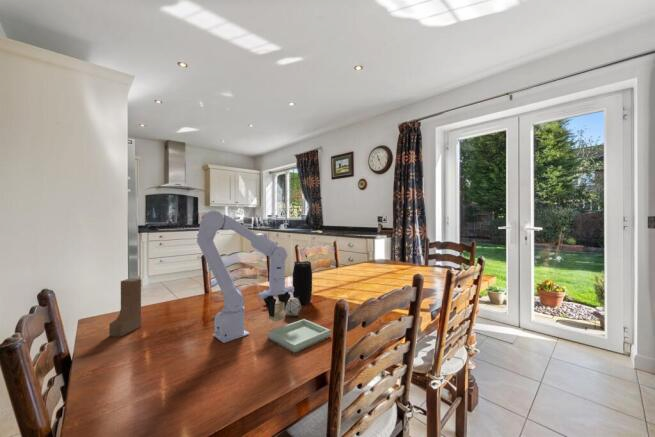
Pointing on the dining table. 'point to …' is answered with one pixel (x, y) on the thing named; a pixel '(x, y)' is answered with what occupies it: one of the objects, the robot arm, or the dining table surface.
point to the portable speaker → (302, 281)
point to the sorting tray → (299, 335)
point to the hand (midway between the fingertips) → (276, 314)
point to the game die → (293, 307)
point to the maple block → (278, 311)
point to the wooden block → (128, 309)
